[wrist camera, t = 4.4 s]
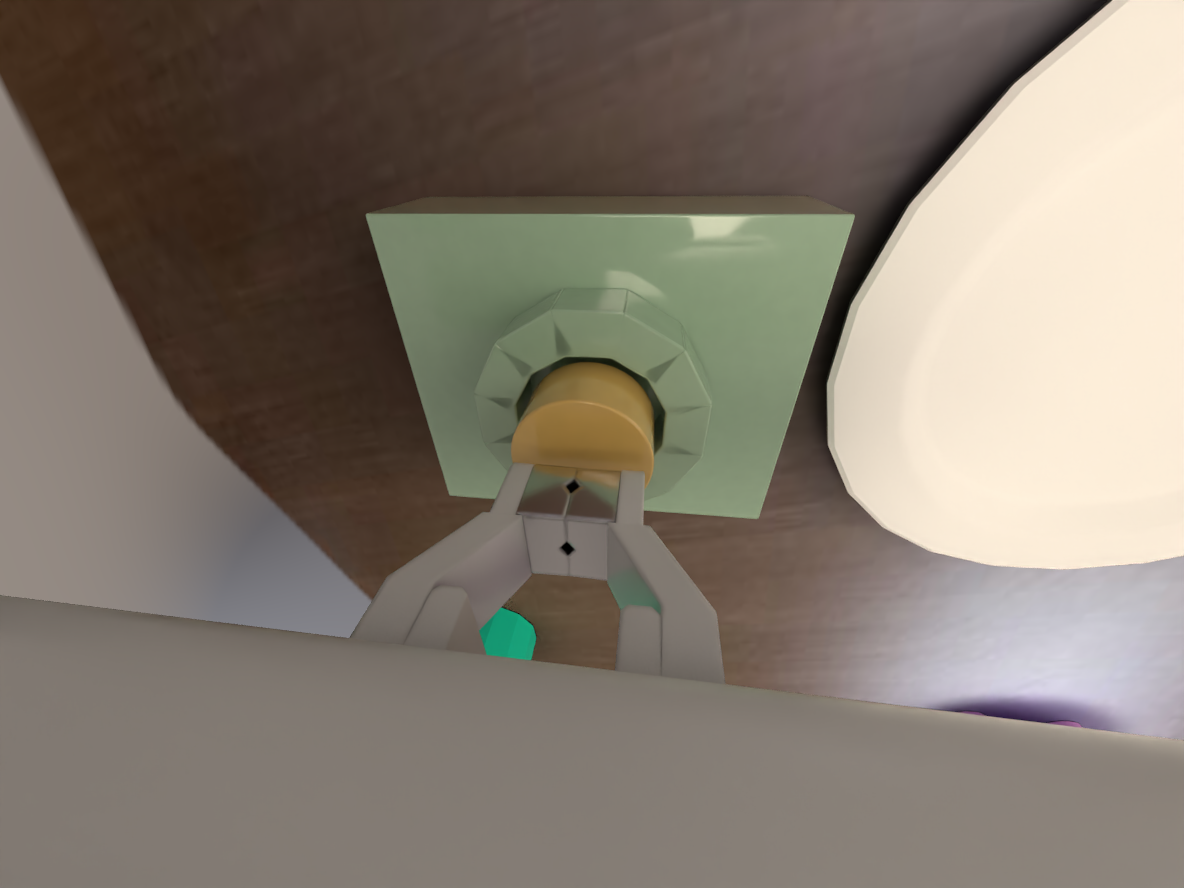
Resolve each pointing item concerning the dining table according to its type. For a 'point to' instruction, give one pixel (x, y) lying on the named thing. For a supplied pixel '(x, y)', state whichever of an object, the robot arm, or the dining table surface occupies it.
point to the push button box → (615, 323)
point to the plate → (1034, 320)
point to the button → (587, 421)
